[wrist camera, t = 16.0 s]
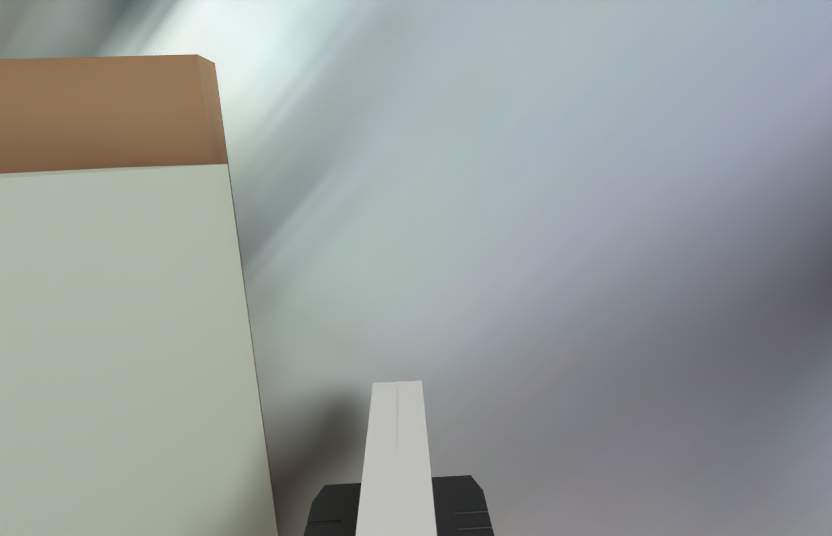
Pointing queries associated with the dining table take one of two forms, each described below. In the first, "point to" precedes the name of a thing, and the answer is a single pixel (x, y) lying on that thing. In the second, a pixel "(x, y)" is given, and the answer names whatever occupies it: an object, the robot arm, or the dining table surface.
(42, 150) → the wooden board
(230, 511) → the bookend
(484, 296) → the dining table surface
